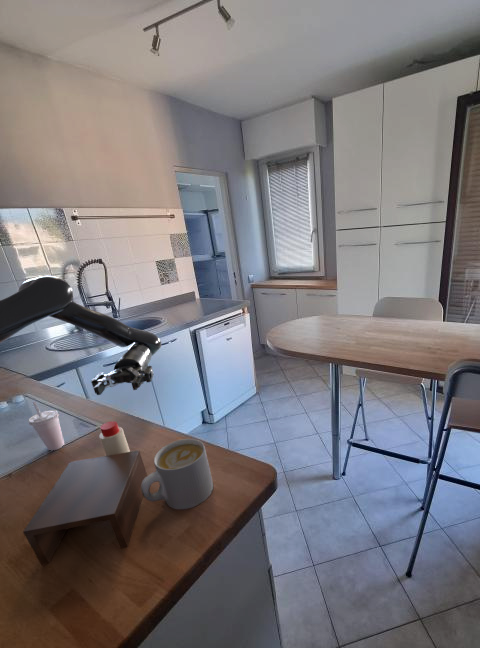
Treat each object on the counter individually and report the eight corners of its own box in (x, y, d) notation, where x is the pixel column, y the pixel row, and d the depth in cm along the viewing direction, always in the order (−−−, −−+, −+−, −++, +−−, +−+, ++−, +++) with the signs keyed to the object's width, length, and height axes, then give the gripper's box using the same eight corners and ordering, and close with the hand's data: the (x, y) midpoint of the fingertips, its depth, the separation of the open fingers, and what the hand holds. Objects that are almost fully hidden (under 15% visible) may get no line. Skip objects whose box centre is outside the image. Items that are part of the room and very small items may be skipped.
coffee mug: (206, 469, 77) (197, 433, 73) (219, 495, 69) (210, 456, 65) (144, 493, 72) (132, 455, 68) (151, 525, 64) (137, 485, 60)
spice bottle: (109, 475, 78) (93, 432, 73) (115, 462, 82) (100, 421, 77) (131, 471, 78) (116, 429, 74) (136, 459, 83) (122, 418, 78)
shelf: (41, 565, 57) (22, 531, 54) (82, 491, 74) (69, 462, 70) (127, 546, 60) (114, 513, 56) (148, 478, 76) (139, 450, 73)
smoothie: (36, 451, 89) (15, 405, 83) (60, 437, 94) (41, 394, 89) (52, 455, 86) (31, 409, 81) (75, 441, 92) (57, 396, 86)
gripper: (102, 356, 95) (79, 379, 80) (155, 350, 97) (142, 371, 82) (110, 380, 98) (89, 406, 83) (161, 373, 100) (149, 398, 85)
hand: (115, 389), depth 83 cm, fingers open, 8 cm apart
